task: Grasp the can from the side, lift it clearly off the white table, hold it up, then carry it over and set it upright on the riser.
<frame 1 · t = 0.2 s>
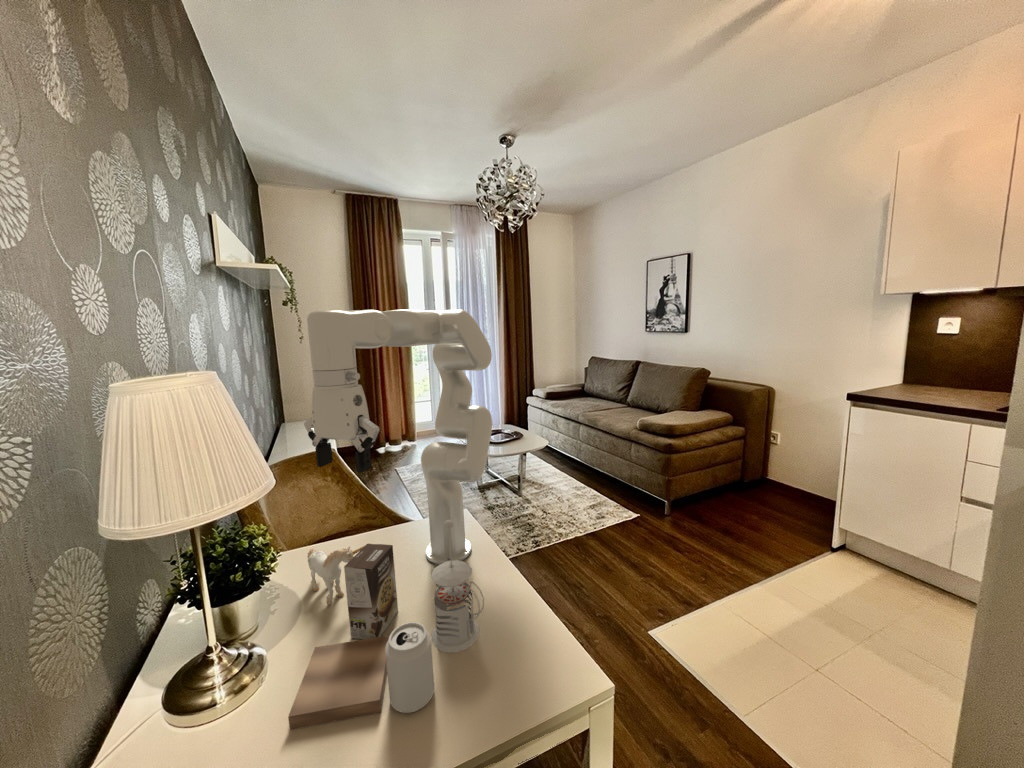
hand: (344, 467, 76), 37 cm above the table, tool pointing down, fingers open, 9 cm apart
riser: (346, 683, 72), on the table
coffee box: (375, 624, 86), on the table
can: (412, 697, 69), on the table
french press: (459, 635, 82), on the table
unicorn figurine: (342, 589, 98), on the table
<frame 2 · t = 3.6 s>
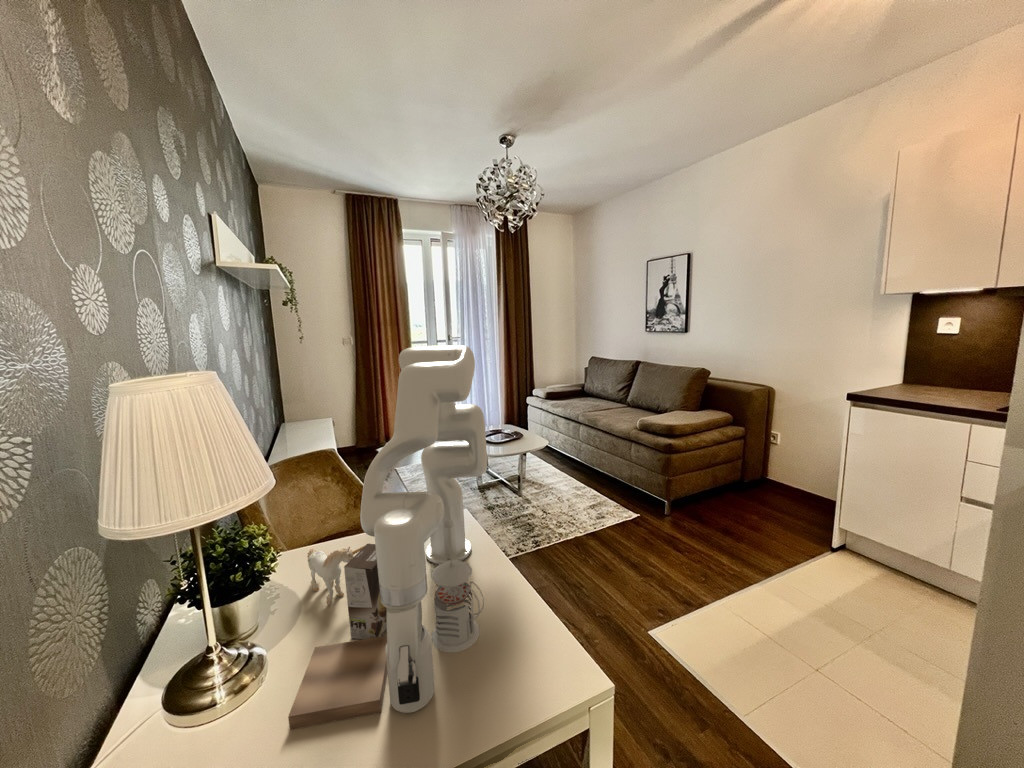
hand: (411, 678, 69), 3 cm above the table, tool pointing down, fingers closed on can, 7 cm apart
can: (413, 697, 69), on the table, touching gripper
everything else where it was.
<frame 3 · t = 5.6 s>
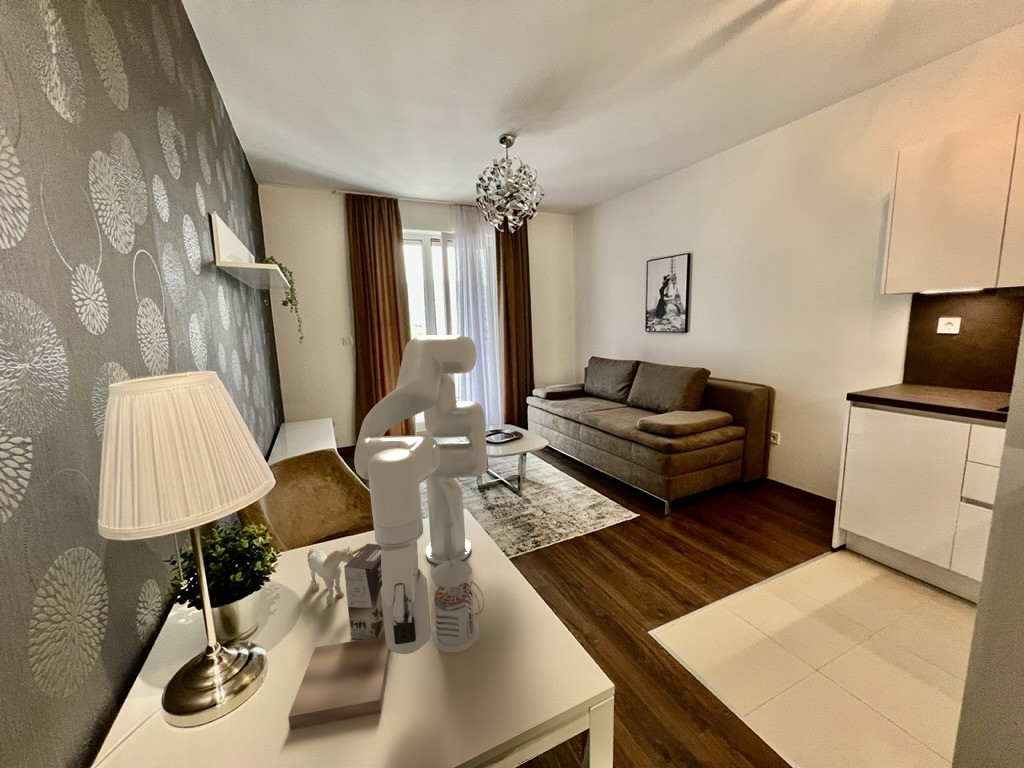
hand: (407, 621, 67), 14 cm above the table, tool pointing down, fingers closed on can, 7 cm apart
can: (409, 640, 68), point 10 cm above the table, touching gripper
everything else where it was.
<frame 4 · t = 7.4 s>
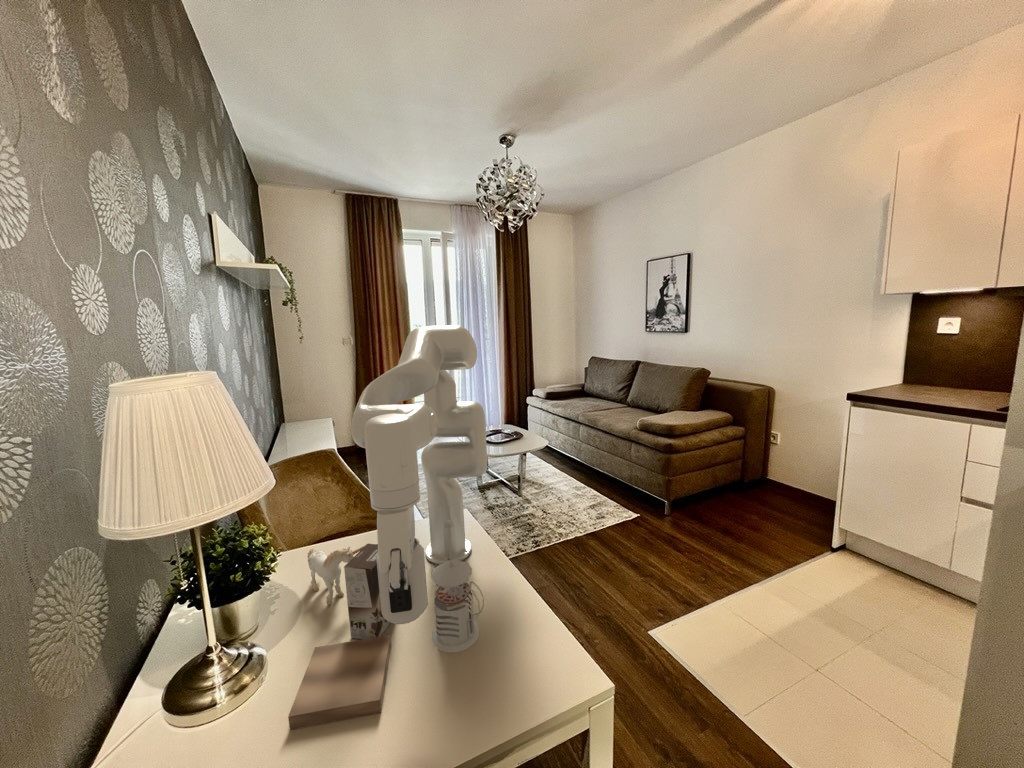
hand: (403, 592, 66), 20 cm above the table, tool pointing down, fingers closed on can, 7 cm apart
can: (405, 612, 67), point 16 cm above the table, touching gripper
everything else where it was.
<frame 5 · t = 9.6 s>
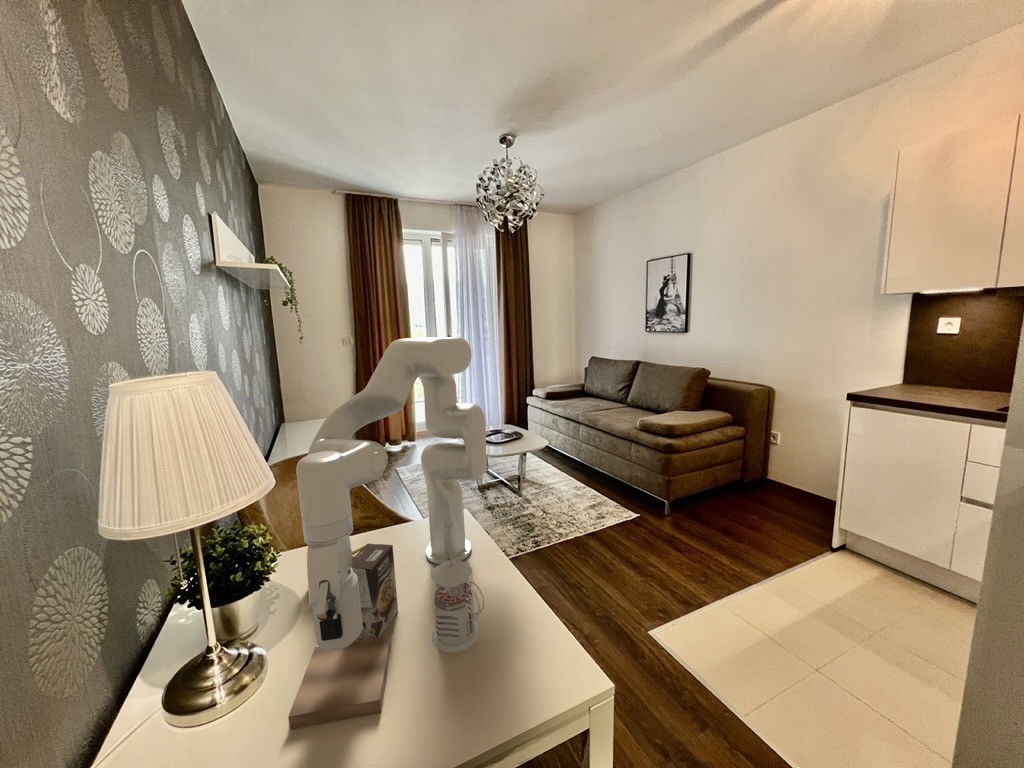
hand: (338, 619, 70), 13 cm above the table, tool pointing down, fingers closed on can, 7 cm apart
can: (340, 638, 70), point 9 cm above the table, touching gripper
everything else where it was.
when the fingers open (7 cm above the table, at t = 11.2 s): can drops 1 cm, resting on riser.
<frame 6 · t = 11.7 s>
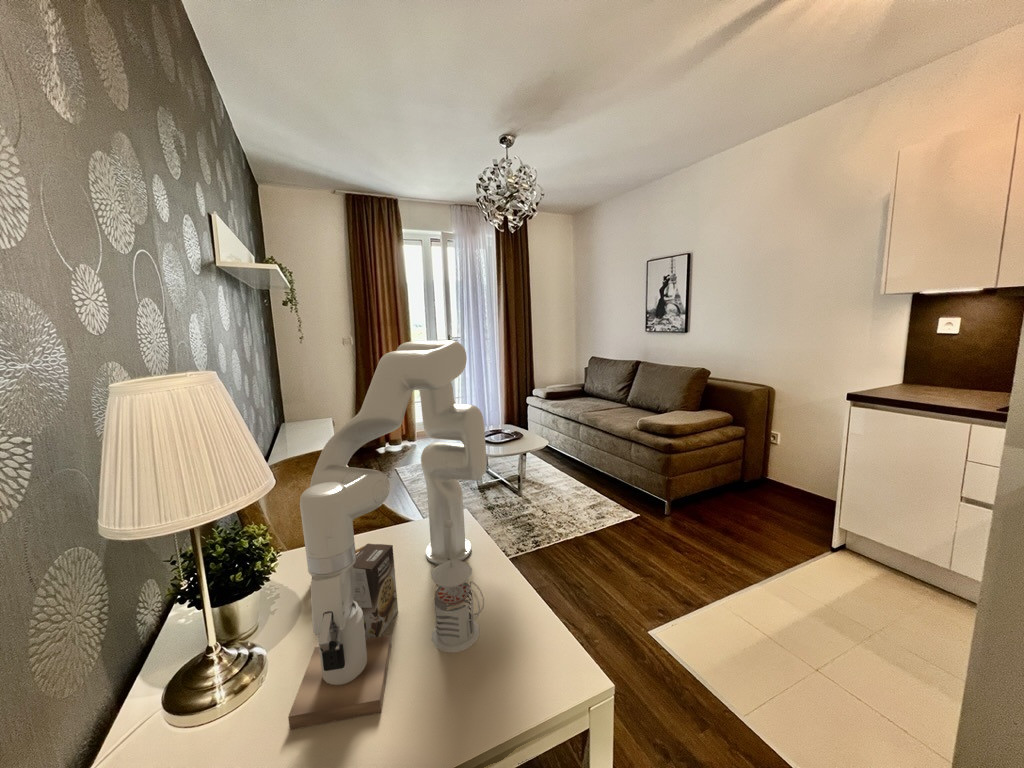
hand: (341, 645, 71), 8 cm above the table, tool pointing down, fingers open, 9 cm apart
can: (345, 671, 72), point 2 cm above the table, touching riser
everything else where it was.
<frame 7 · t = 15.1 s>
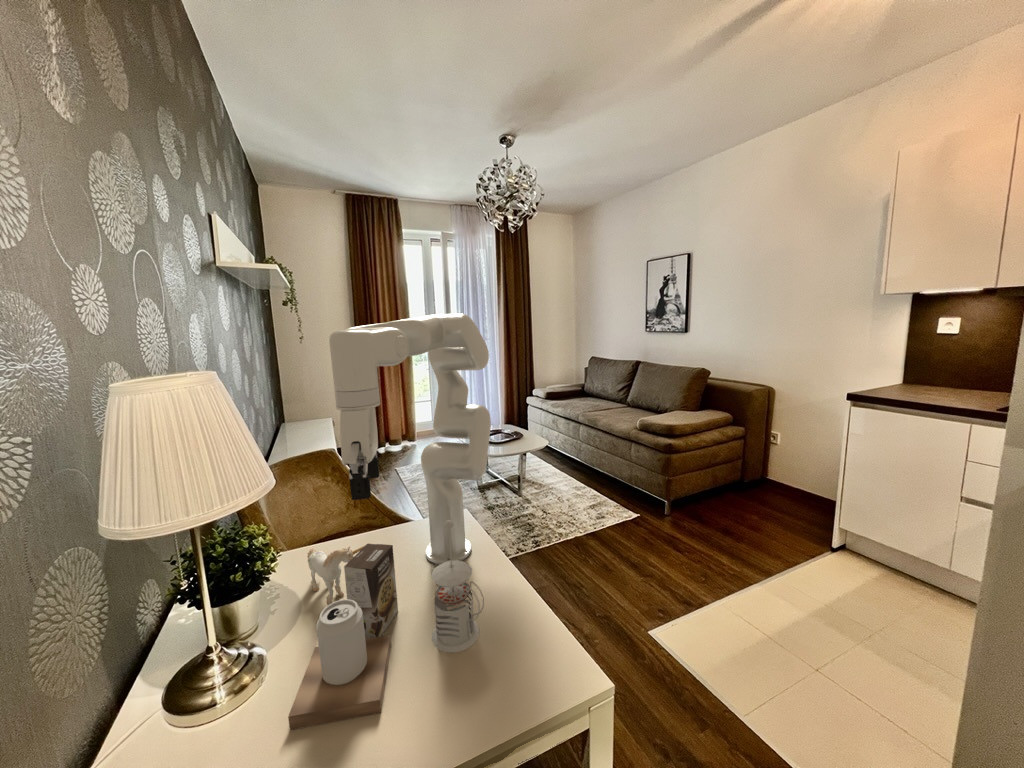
hand: (366, 487, 75), 33 cm above the table, tool pointing down, fingers open, 9 cm apart
nothing on the table moved.
at the end: can inside the target area on the riser (0.2 cm from its centre), point 2.3 cm above the riser's base; can tilted 0°; the gripper is holding nothing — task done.
